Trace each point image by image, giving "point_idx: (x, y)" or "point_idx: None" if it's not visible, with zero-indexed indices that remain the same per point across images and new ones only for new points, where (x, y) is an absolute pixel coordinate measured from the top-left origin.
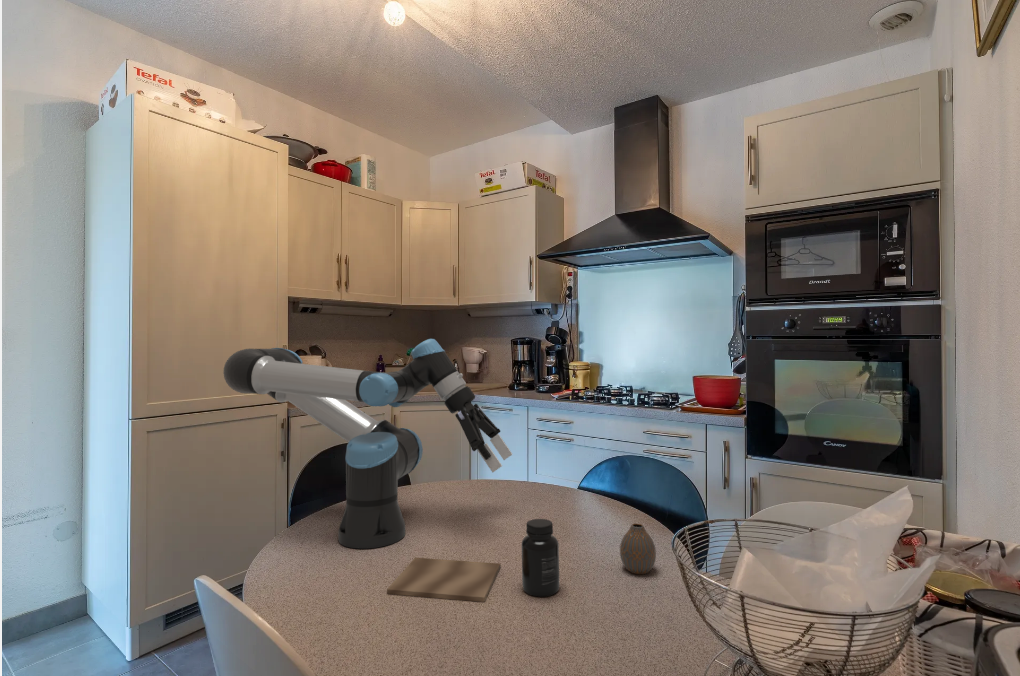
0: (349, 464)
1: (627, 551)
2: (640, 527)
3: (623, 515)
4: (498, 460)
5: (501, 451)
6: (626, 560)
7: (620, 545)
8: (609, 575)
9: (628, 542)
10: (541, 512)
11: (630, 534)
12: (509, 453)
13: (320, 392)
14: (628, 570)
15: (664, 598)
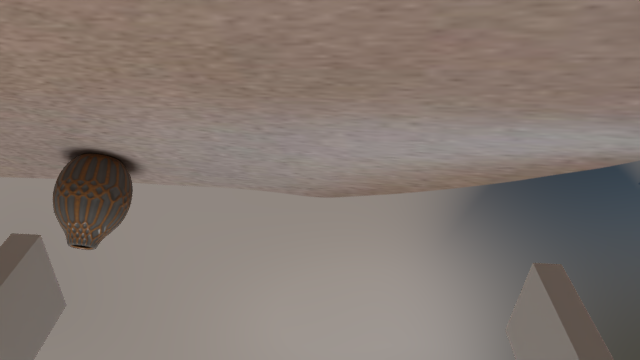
0: None
1: (53, 195)
2: (73, 247)
3: (431, 175)
4: (32, 349)
5: (557, 357)
6: (58, 177)
7: (74, 194)
8: (38, 134)
9: (56, 212)
10: (507, 35)
11: (64, 227)
12: (517, 339)
13: None
14: (81, 155)
15: (14, 168)
